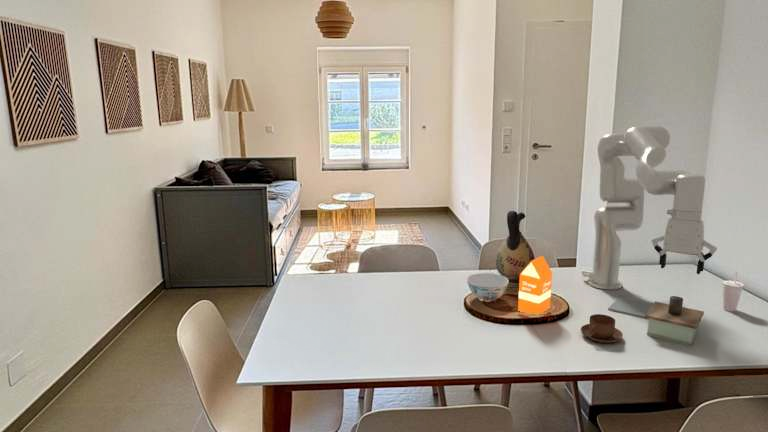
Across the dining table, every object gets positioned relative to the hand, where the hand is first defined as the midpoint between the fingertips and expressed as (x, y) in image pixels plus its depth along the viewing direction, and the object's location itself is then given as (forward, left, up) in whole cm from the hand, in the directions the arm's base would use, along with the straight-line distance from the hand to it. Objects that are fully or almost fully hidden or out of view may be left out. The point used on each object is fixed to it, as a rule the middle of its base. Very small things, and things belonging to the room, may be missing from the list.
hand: (680, 270), depth 159 cm
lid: (0, 0, -15) cm, 15 cm away
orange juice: (-41, -11, -21) cm, 48 cm away
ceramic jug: (-60, +14, -21) cm, 65 cm away
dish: (0, 0, -21) cm, 21 cm away
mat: (-14, +15, -21) cm, 30 cm away
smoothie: (+12, +33, -21) cm, 41 cm away
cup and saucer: (-17, -16, -22) cm, 32 cm away
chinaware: (-60, -9, -21) cm, 64 cm away
